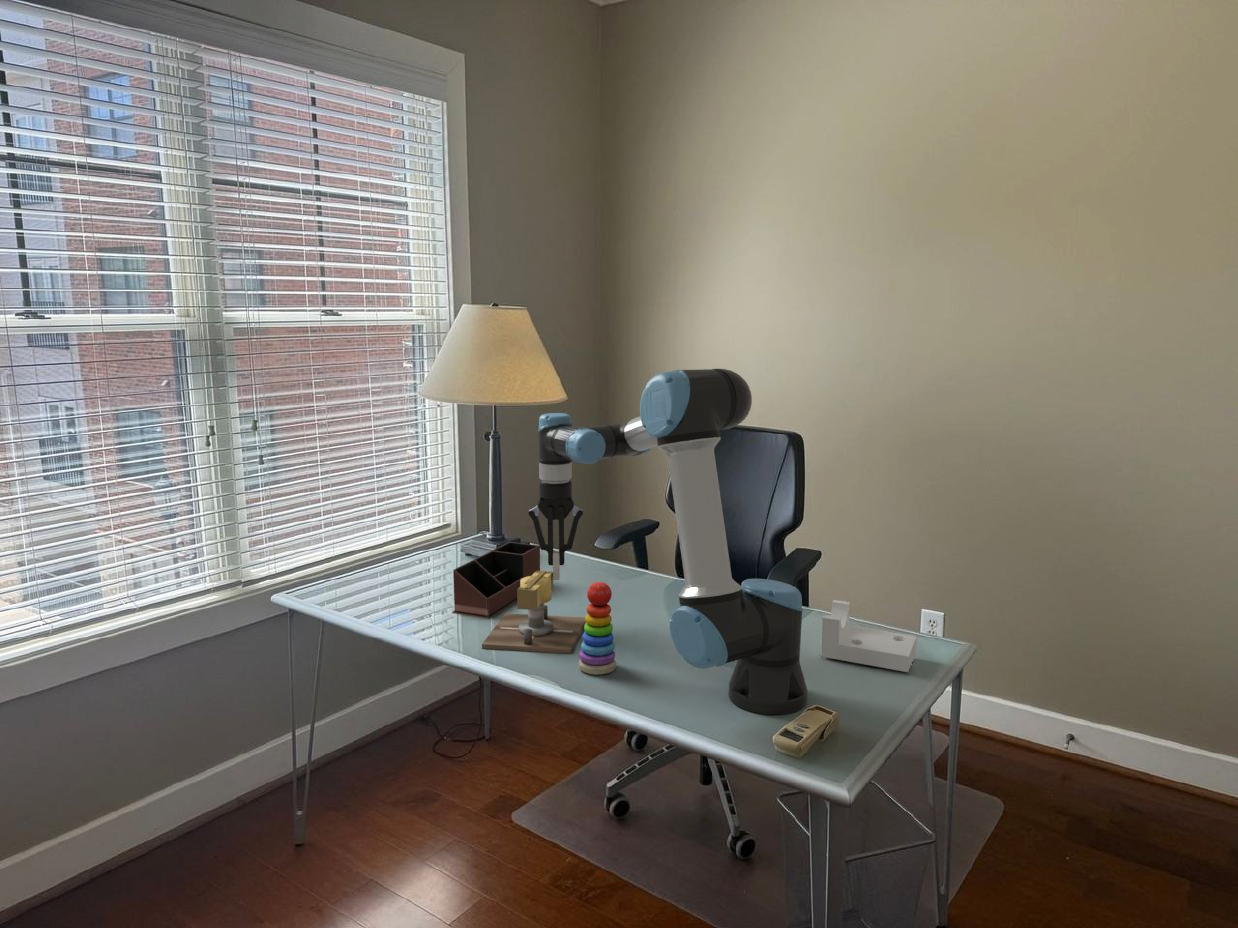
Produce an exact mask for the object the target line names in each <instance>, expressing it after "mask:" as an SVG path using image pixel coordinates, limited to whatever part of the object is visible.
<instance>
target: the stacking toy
mask: <svg viewBox="0 0 1238 928" xmlns="http://www.w3.org/2000/svg"><path fill="white" fill-rule="evenodd" d="M586 596H587V599H588V602H589V603H590V604H588V605H587V607H586V612H587V614H586V615H585V621H586V624H585V626H584V628H583V629H584V630H583V631H584V632H583V633H582V642H581V645H580V648H581V649H580V651H579V654H578V656H579V660H578V665H577V666H578V668H579V670H581V672H583V673H586V674H589V675H594V676H595V675H598V676H599V675H605V674H606V675H607V674H609V673H612V672H614V670H615V669H616V668H617V661H616V652H615V647H616V646H615V642H614V633H612V632H613V629H614V627H613V624H612V621H613V619H612V615H611V612H612V607H611V605H609V604H608V603H609V602H610V601H611V600H612V589H611V587H610V586H609V585H608V584H607V583H606V582H603V581H595V582H593V583H592V584H590V585H589V586H588V589H587V593H586Z"/></svg>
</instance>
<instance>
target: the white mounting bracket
mask: <svg viewBox="0 0 1238 928" xmlns="http://www.w3.org/2000/svg"><path fill="white" fill-rule="evenodd" d="M850 607H851V602H849V601H844V600H839V599H833V600H832V602H831V610H830V611H831V612H830V615H826V614H823V616H822V617H821V618H822V620H821V621H822V623H821V624H822V625H821V626H822V627H821V628H822V630H821V657H822V658H827V659H832V660H833V659H834V660H837V661H843V662H845V661H846V662H849V663H854V664H860V665H867V666H872V667H878V668H882V669H888V670H893V671H899V672H905V673H909V671H910V668H911V664H912V662H913V660H914V657H915V655H916V656H917V654H916V653H917V636H916V635H910V634H904V633H898V632H892V631H886V630H880V629H875V628H867V627H862V626H855V625H850V616H851V615H850V610H851V608H850ZM915 658H916V657H915ZM914 661H915V660H914ZM913 663H914V662H913Z"/></svg>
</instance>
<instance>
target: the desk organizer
mask: <svg viewBox="0 0 1238 928" xmlns="http://www.w3.org/2000/svg"><path fill="white" fill-rule="evenodd" d="M452 571H453V600H454V602H453V603H454V610H453V611H452V612H451V613H452V614H457V615H462V616H466V617H467V616H468V617H474V618H475V617H476V618H482V619H490V618H492V617H494V616H495V615H497V614H498V613H500V612H501V611H503V610H505V609H506V608H508V607H509V606H510V605H512V604H513V603H515V602H517V589H518V588H519V587H520V580H521V579H522V578H524V577H528V576H532V575H533V574H534V573H535V572H536V571H541V549H540V545H539V544H530V543H523V542H514V541H508V542H506V543H504V544H502V545H500V546H499V547H496V548H495V549H492V550H490V551H488V552H486V553H485V554H482V555H480V556H479V557H476V558H475V559H472V560H470V561H468V562H466V563H464V564H462V565H460V566H458V567H456V568H454V569H453V570H452Z"/></svg>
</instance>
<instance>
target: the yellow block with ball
mask: <svg viewBox="0 0 1238 928" xmlns="http://www.w3.org/2000/svg"><path fill="white" fill-rule="evenodd" d="M553 591H554V580H553V571H547V570H540V571H536V572H535V573H534V574H533V575H532V576H528V577H524V578H522V579H521V580H520V587H519V588H518V589H517V601H516V603H517V610H526V611H528V610H536V609H537V607H538V606H539V605H540V604H543V603H544V604H547V603H549V602H551V600H552V592H553Z"/></svg>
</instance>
